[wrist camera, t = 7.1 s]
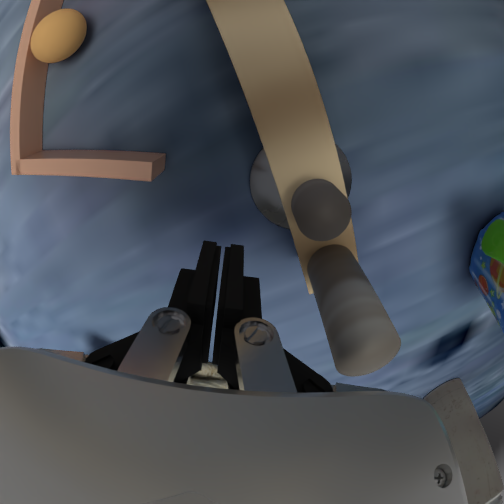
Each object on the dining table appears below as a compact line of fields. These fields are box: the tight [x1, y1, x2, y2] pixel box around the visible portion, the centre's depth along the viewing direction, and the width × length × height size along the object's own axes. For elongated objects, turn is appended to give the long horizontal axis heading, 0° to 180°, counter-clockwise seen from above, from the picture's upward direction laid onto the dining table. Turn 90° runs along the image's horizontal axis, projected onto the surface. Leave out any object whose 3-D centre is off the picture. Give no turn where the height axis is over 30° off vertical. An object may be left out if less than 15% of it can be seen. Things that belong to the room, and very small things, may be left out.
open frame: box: [10, 0, 166, 182], centre depth 9 cm, size 17×10×2 cm, turn 170°
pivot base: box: [250, 144, 352, 229], centre depth 15 cm, size 6×6×1 cm
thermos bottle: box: [423, 378, 504, 504], centre depth 19 cm, size 8×8×28 cm
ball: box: [30, 9, 87, 63], centre depth 9 cm, size 4×4×4 cm
